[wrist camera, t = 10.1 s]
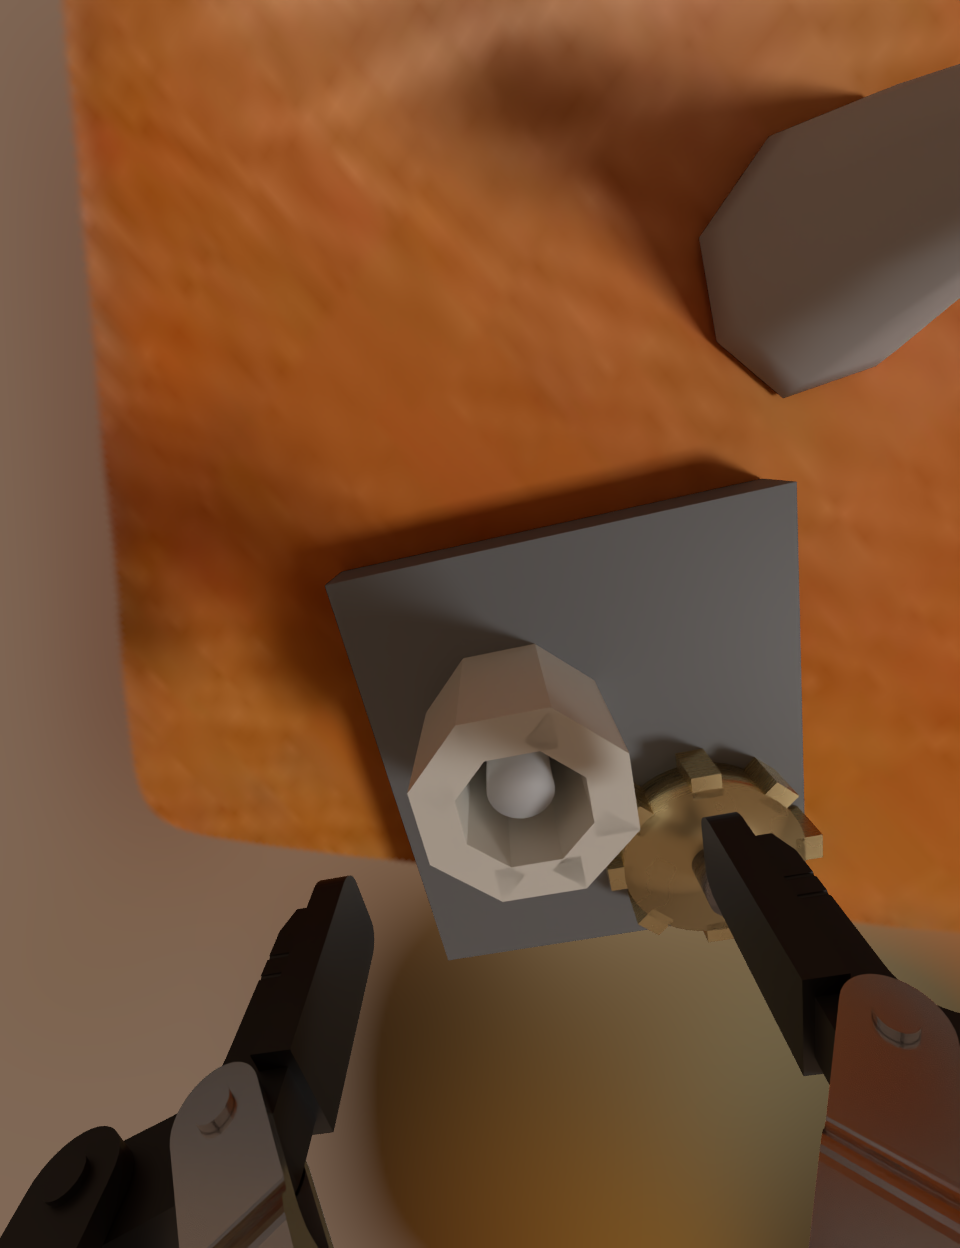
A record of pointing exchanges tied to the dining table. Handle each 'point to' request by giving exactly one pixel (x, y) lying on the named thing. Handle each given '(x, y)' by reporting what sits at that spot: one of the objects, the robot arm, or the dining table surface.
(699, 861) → the brass gear
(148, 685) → the dining table surface
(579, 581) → the board
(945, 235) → the flask
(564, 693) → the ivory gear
